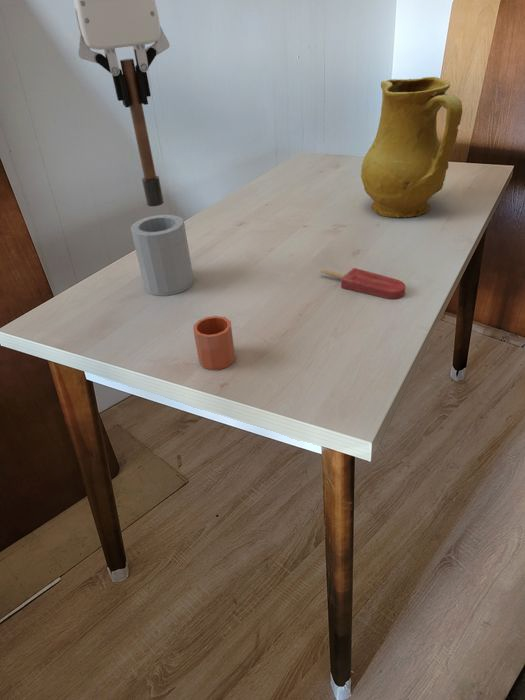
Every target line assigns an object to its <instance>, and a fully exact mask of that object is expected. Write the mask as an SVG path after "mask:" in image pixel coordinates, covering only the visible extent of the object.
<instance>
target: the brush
mask: <svg viewBox="0 0 525 700" xmlns="http://www.w3.org/2000/svg"><path fill="white" fill-rule="evenodd" d="M119 63H120V67H121V68H120V69H121V70H122V74H123V75H124V76H125V80H126V84H127V89H128V94H129V99H130V104H131V106H130V107H129V111H130V115H131V121H132V125H133V131H134V135H135V140H136V144H137V150H138V155H139V159H140V164H141V170H142V173H143V177H142V178H141V181H142V187H143V191H144V196H145V201H146V205H147V206H148V207H158V206H161V205H163V204H164V197H163V191H162V186H161V180H160V177H159V175H157V174H156V169H155V164H154V159H153V158H154V157H153V154H152V148H151V143H150V138H149V132H148V127H147V123H146V117H145V113H144V107H143V104H142V102H141V97H140V92H139V86H138V81H137V76H136V69H135V66H136V64H135V60H134V58H124V59H120V60H119Z"/></svg>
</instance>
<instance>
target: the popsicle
mask: <svg viewBox="0 0 525 700" xmlns="http://www.w3.org/2000/svg"><path fill="white" fill-rule="evenodd" d="M320 273H322V274H325V275H329V276H333V277H337V278H340V288H342V289H344V290H349V291H354V292H357V293H358V292H359V293H363V294H366V295H371V296H375V297H380V298H384V299H389V300H390V299H391V300H394V299H400V298H402V297H403V296H405V294H406V285H405V283H404V282H403V281H402V280H399V279H397V278H394V277H390V276H386V275H383V274H379V273H374V272H371V271H367V270H364V269H360V268H356V267H353V268H351V270H349V271H348V272H347V273H346V274H344V273H339V272H335V271H331V270H327V269H321V270H320Z"/></svg>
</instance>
